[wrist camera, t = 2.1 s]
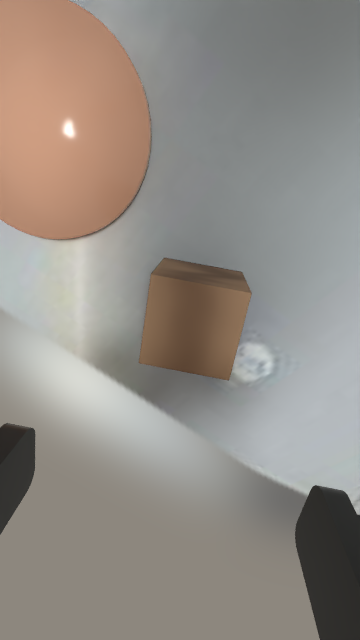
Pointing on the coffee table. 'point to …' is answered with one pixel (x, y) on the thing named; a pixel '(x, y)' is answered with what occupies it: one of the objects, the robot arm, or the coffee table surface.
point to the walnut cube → (194, 318)
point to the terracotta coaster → (67, 121)
